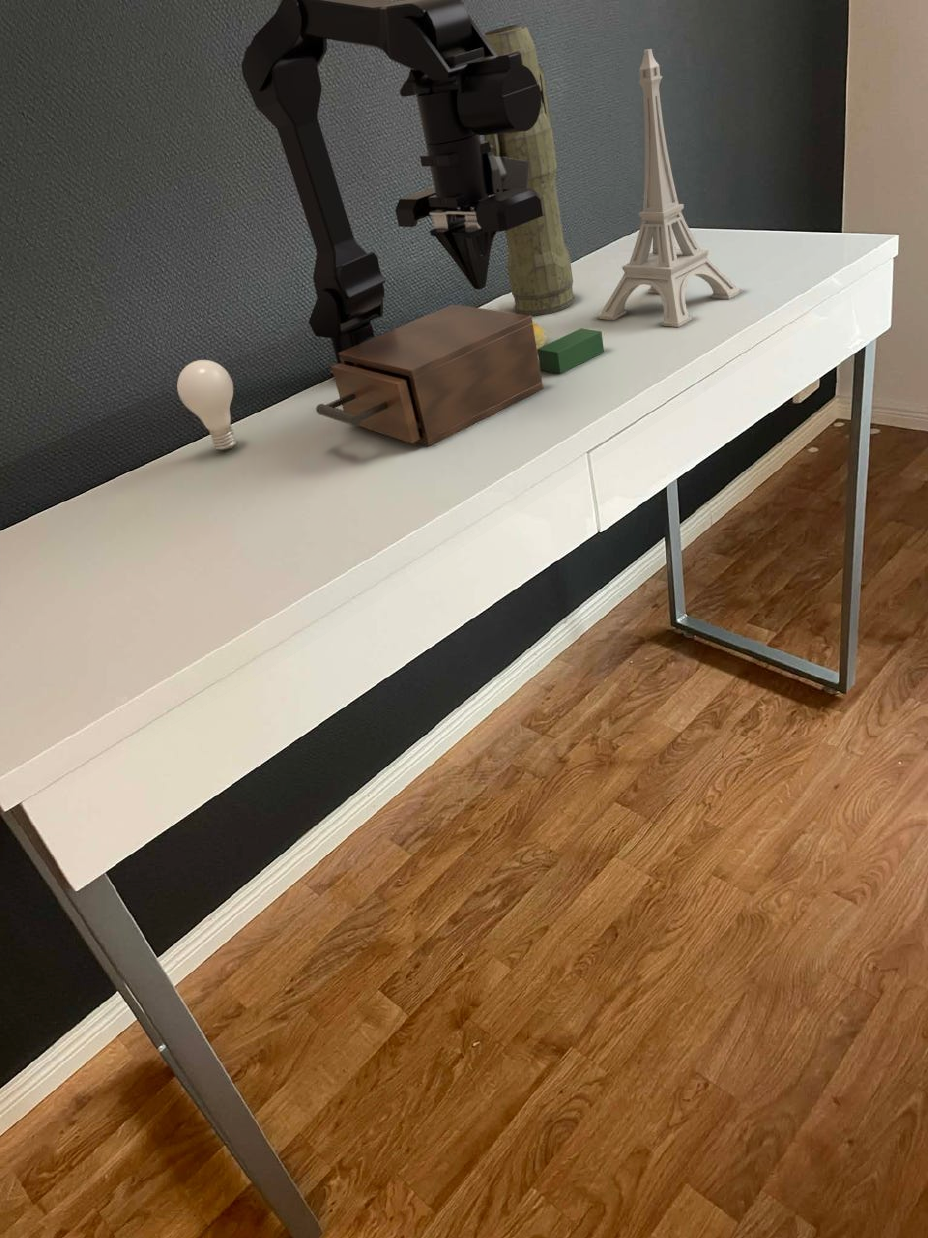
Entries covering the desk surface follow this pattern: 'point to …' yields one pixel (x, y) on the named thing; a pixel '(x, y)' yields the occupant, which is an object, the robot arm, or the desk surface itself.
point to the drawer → (374, 401)
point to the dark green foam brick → (570, 350)
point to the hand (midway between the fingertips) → (480, 288)
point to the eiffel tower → (663, 226)
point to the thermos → (538, 243)
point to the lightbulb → (209, 399)
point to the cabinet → (457, 365)
